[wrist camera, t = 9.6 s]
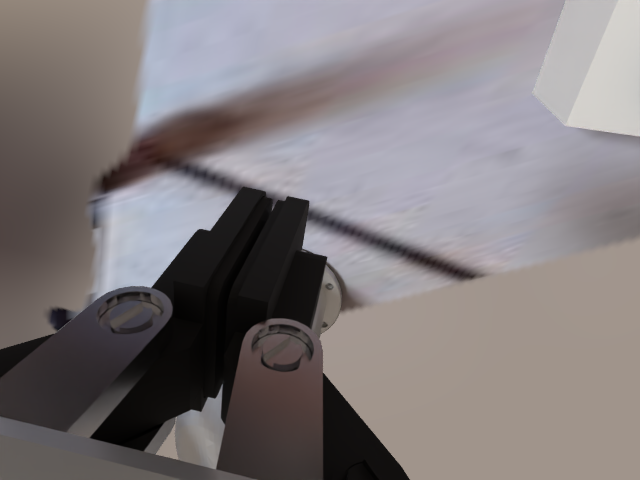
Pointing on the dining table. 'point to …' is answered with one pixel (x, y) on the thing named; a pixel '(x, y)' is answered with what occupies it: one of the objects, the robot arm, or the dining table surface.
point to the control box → (594, 67)
